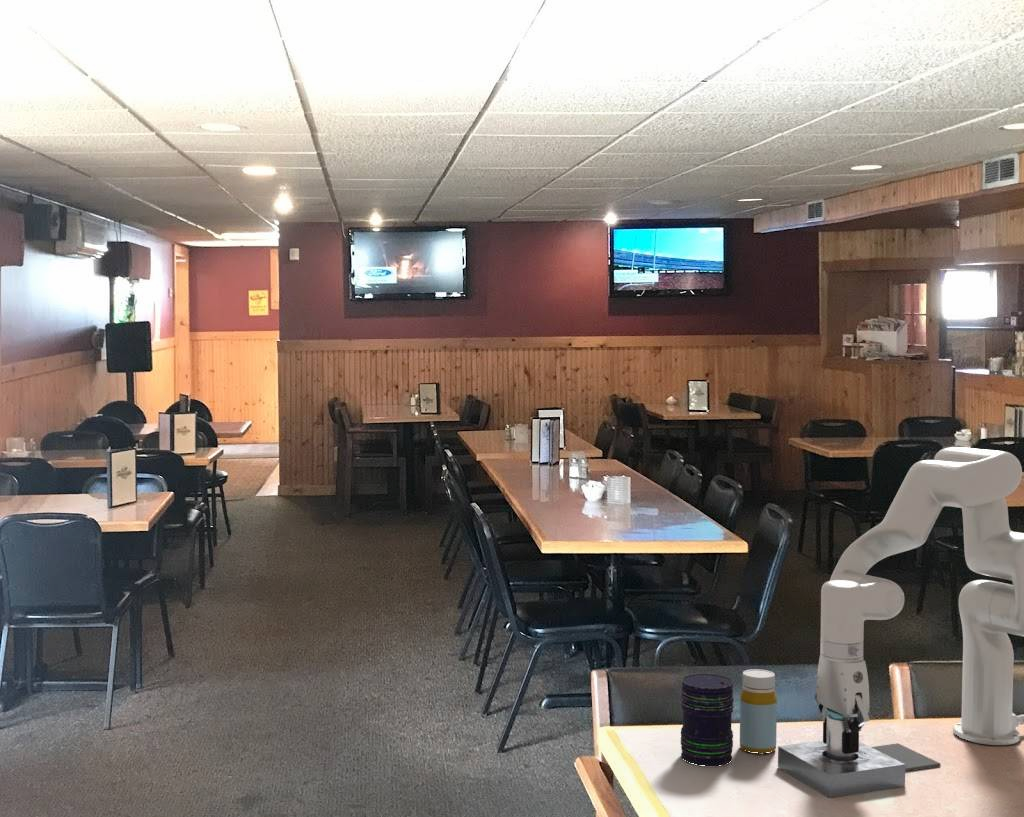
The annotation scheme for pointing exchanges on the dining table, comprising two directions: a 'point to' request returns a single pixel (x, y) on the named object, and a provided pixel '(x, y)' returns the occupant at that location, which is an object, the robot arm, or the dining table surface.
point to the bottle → (758, 711)
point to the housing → (841, 769)
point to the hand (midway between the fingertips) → (840, 746)
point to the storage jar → (707, 719)
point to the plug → (836, 737)
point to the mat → (907, 756)
